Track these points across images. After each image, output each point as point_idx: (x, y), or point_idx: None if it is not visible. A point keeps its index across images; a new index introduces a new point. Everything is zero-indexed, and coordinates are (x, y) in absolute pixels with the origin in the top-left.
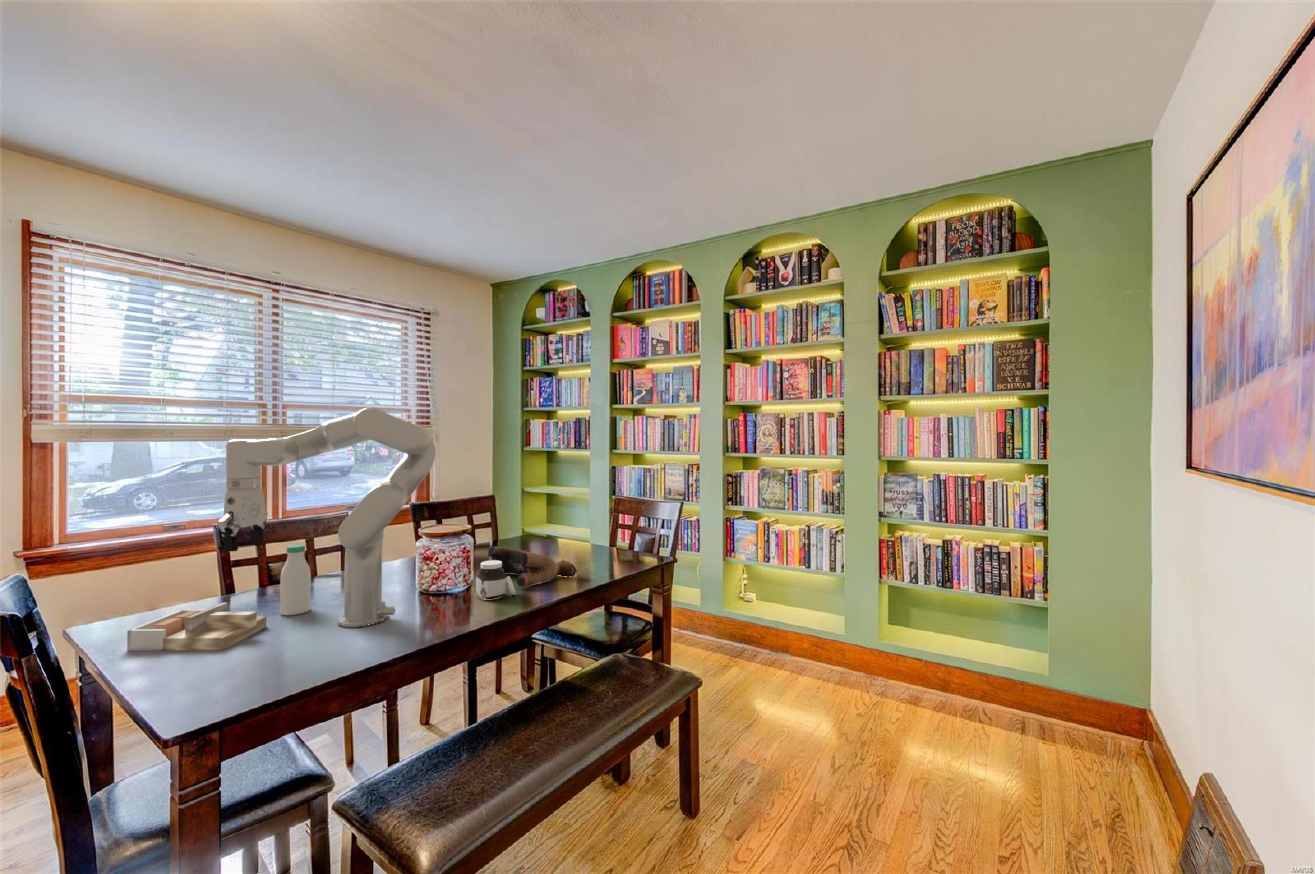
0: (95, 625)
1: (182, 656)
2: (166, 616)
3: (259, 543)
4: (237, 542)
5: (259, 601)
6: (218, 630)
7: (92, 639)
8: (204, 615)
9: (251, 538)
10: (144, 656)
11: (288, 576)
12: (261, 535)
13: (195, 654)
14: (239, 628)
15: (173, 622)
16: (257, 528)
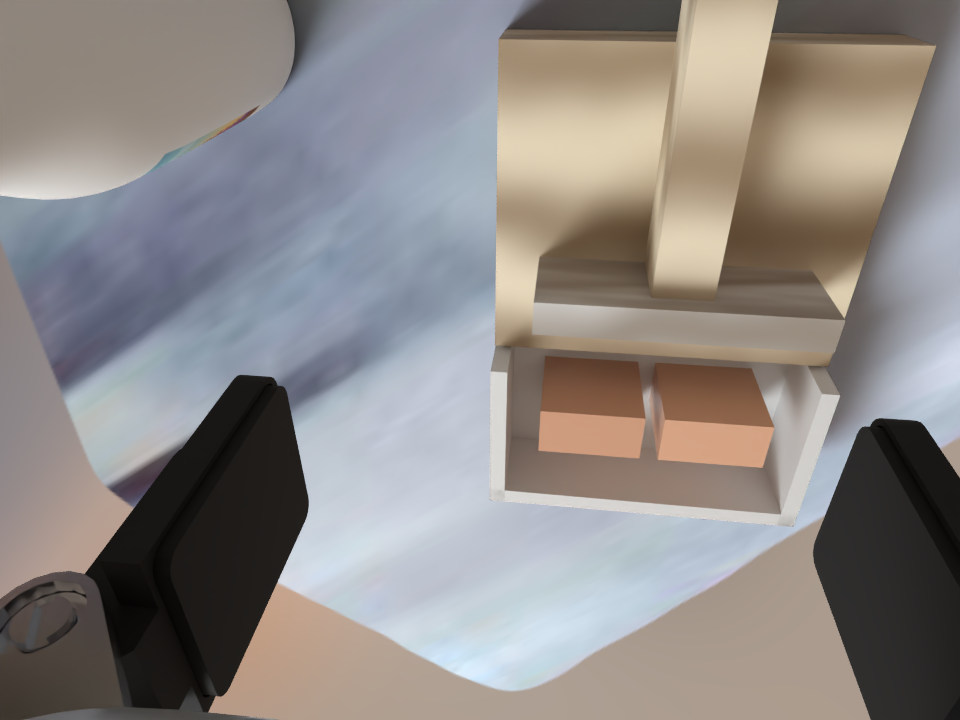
0: (466, 675)
1: (941, 196)
2: (594, 500)
3: (279, 405)
4: (956, 521)
5: (116, 346)
6: (758, 172)
7: (608, 617)
8: (731, 302)
9: (279, 556)
10: (872, 364)
11: (154, 70)
12: (217, 469)
13: (931, 147)
14: None
15: (718, 419)
16: (159, 652)
